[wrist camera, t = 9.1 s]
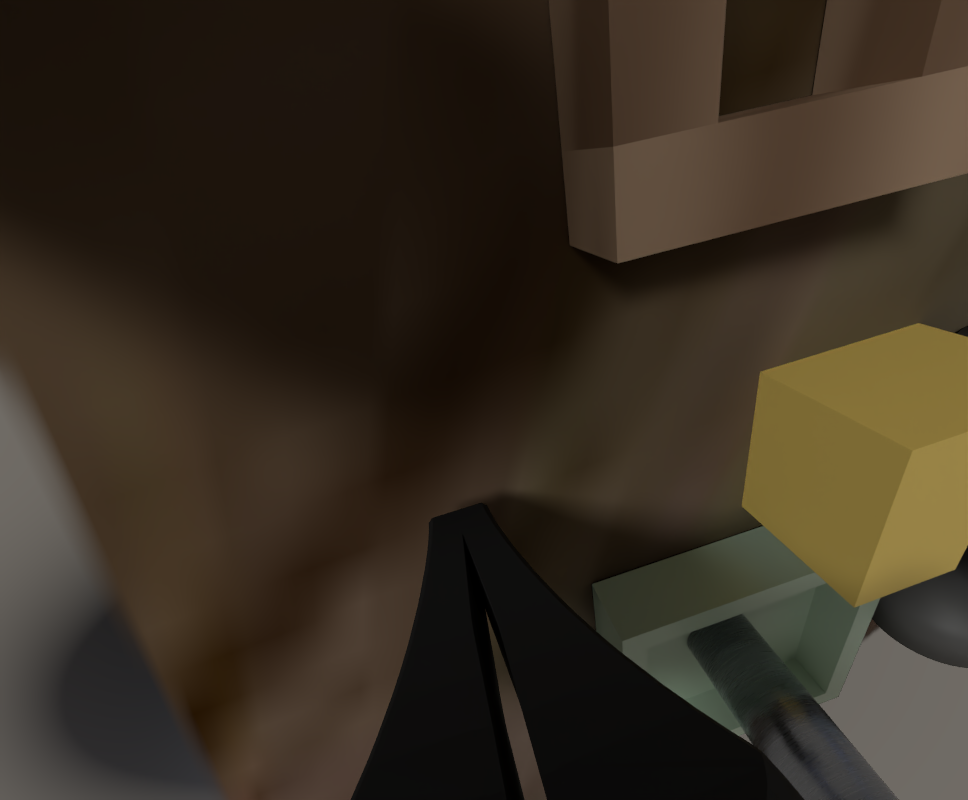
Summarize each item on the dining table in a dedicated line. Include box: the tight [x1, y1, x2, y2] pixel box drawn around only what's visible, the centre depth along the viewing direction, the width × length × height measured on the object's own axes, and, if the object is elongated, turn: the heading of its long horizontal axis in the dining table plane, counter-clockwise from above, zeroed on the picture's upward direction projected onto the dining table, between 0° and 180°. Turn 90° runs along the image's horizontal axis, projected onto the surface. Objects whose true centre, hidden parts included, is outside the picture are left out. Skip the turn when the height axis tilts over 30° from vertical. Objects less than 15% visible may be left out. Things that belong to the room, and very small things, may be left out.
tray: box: [592, 526, 880, 736], centre depth 16 cm, size 10×10×2 cm
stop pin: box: [687, 613, 899, 800], centre depth 13 cm, size 3×3×7 cm
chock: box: [742, 323, 968, 608], centre depth 12 cm, size 5×5×4 cm
